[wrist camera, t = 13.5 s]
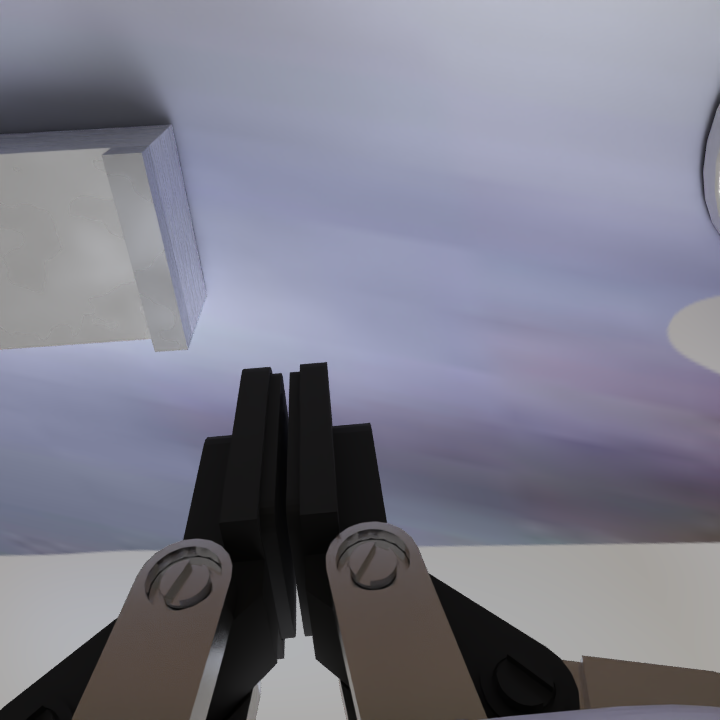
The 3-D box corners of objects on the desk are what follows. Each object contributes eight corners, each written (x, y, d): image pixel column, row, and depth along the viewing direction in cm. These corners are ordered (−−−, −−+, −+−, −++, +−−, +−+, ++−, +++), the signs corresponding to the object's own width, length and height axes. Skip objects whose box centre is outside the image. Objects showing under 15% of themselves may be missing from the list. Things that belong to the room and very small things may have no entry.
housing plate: (171, 124, 22) (141, 152, 18) (206, 295, 25) (188, 349, 21) (-50, 137, 21) (-129, 168, 17) (18, 308, 25) (-35, 365, 21)
